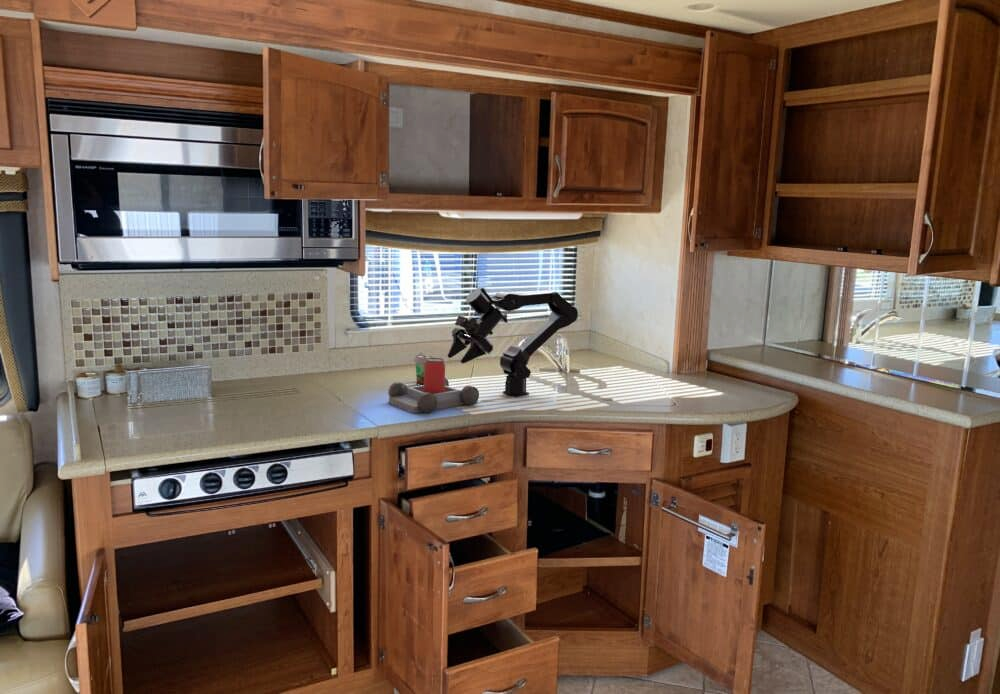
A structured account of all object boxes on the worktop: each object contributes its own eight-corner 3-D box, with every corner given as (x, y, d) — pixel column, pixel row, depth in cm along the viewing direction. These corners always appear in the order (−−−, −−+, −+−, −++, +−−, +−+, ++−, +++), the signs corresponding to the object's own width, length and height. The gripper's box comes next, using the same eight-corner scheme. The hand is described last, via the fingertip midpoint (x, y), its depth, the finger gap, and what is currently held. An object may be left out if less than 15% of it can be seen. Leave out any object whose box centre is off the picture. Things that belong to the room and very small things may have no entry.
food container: (406, 381, 275) (406, 353, 273) (420, 379, 279) (421, 352, 277) (426, 388, 266) (426, 359, 264) (441, 386, 269) (441, 358, 268)
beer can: (419, 397, 245) (420, 359, 243) (430, 393, 251) (430, 356, 249) (438, 400, 243) (439, 362, 241) (448, 395, 249) (449, 358, 246)
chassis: (447, 392, 262) (447, 374, 261) (481, 403, 248) (481, 385, 247) (385, 402, 246) (385, 383, 245) (418, 415, 233) (418, 395, 232)
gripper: (457, 303, 256) (426, 338, 252) (485, 310, 240) (452, 348, 237) (478, 325, 261) (447, 360, 258) (506, 334, 245) (474, 372, 242)
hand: (454, 359), depth 248 cm, fingers open, 9 cm apart
